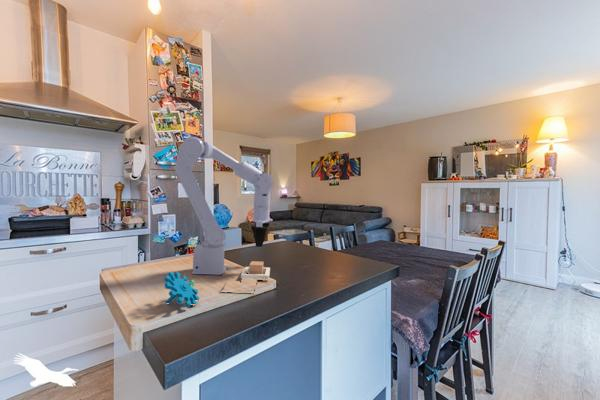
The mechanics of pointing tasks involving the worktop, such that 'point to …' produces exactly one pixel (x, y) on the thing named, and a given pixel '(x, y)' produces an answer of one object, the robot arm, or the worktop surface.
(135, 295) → the worktop surface
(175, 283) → the teal spiky cog
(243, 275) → the socket
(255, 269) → the light brown wooden cube
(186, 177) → the robot arm
